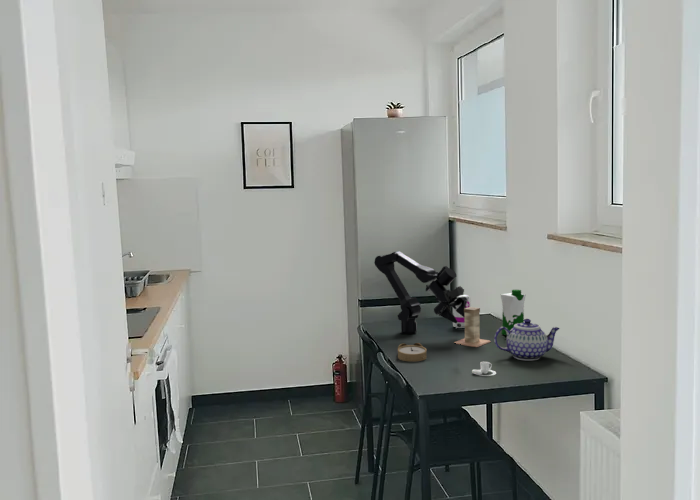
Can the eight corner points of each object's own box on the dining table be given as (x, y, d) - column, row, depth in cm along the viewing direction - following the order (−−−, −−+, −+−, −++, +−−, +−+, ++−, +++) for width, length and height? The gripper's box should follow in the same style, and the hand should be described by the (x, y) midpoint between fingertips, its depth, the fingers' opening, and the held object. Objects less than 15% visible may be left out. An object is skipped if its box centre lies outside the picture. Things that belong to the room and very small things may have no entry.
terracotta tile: (453, 343, 279) (453, 342, 279) (468, 338, 287) (468, 337, 287) (476, 347, 271) (476, 345, 271) (490, 342, 279) (490, 340, 279)
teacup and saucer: (472, 377, 231) (472, 365, 231) (469, 370, 239) (469, 359, 239) (498, 377, 231) (498, 365, 231) (494, 370, 239) (494, 359, 239)
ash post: (464, 341, 279) (463, 308, 278) (470, 339, 282) (469, 306, 281) (474, 343, 276) (473, 309, 274) (480, 340, 279) (479, 308, 278)
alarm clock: (399, 355, 251) (394, 339, 266) (399, 367, 253) (394, 350, 267) (429, 354, 252) (422, 338, 266) (428, 366, 253) (422, 349, 268)
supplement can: (472, 329, 305) (471, 296, 303) (454, 329, 305) (453, 297, 304) (469, 325, 313) (469, 293, 312) (451, 325, 313) (451, 294, 312)
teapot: (497, 363, 247) (497, 323, 245) (490, 352, 262) (490, 315, 261) (565, 362, 246) (566, 322, 245) (554, 351, 262) (554, 314, 260)
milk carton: (513, 337, 286) (513, 292, 284) (498, 334, 293) (498, 289, 291) (527, 335, 290) (527, 289, 288) (512, 331, 298) (512, 287, 296)
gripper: (439, 283, 276) (462, 312, 270) (463, 278, 290) (486, 305, 284) (424, 300, 282) (446, 329, 276) (448, 294, 296) (470, 321, 290)
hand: (462, 320), depth 281 cm, fingers open, 9 cm apart
